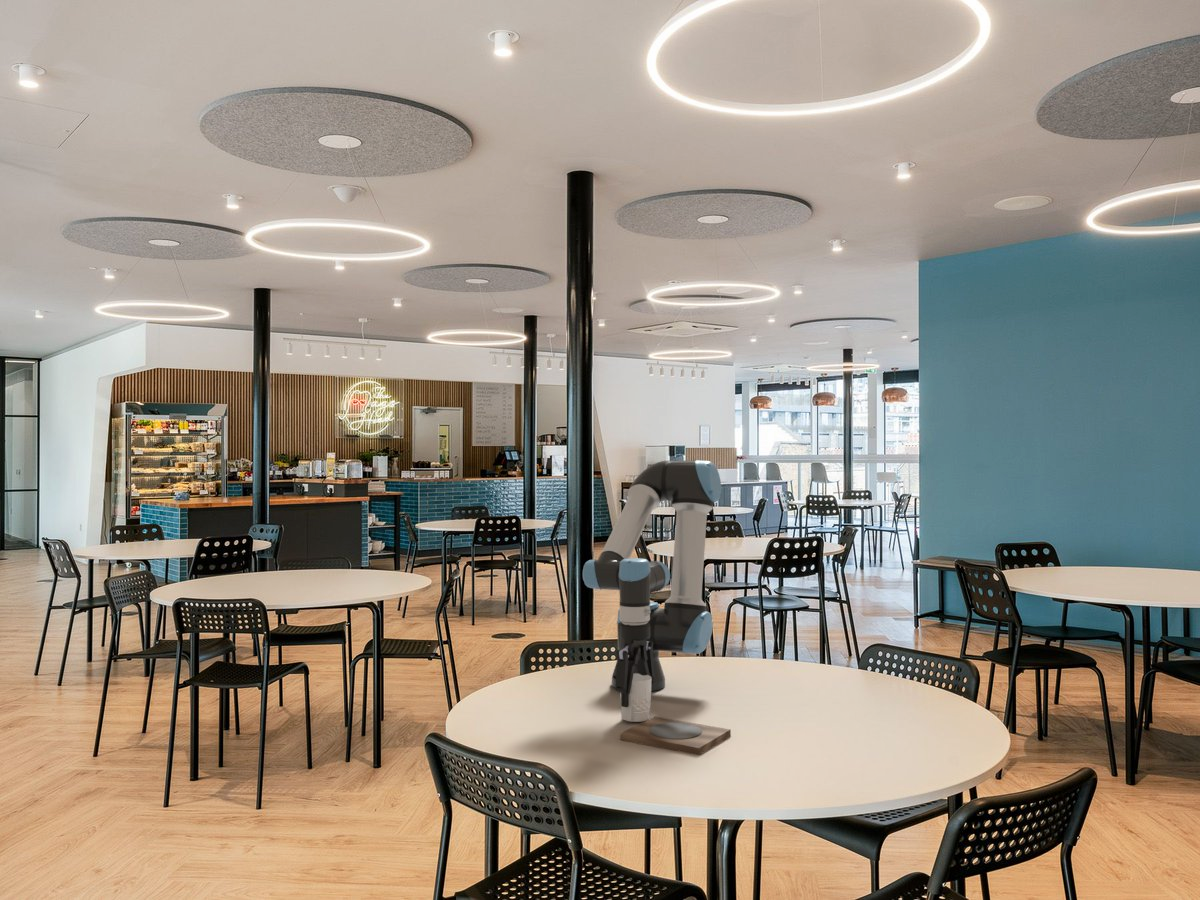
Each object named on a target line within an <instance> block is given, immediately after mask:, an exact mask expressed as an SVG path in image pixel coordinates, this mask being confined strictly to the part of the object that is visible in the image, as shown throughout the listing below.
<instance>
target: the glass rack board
mask: <svg viewBox="0 0 1200 900" xmlns="http://www.w3.org/2000/svg"><path fill="white" fill-rule="evenodd" d="M731 734H732V733H731V728H730V729H729V728H723V727H718V726H714V725H713V726H711V725H707V724H699V723H695V722H688V721H684V720H677V719H674V718H673V719H672V718H665V717H662V716H661V717H660V716H653V717H651V718H649V719H648V720H646V721H642V722H640V723H639V724H636V725H634V726H632V727H631V728H628V729H626V730H624V731H622V732H620V739H619V740H620V741H624V742H625V741H626V742H629V743H634V744H639V745H646V746H651V747H654V748H655V747H656V748H661V749H666V750H672V751H675V752H676V751H677V752H680V753H686V754H692V755H697V756H699V755H701V754H703V753H705V752H707V751H708V750H710V749H711V748H714V747H715V746H716V745H718V744H719V743H721V742H723V741H725V740H726V739H729V738H730V737H731Z"/></svg>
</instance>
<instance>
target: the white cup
mask: <svg viewBox="0 0 1200 900" xmlns="http://www.w3.org/2000/svg"><path fill="white" fill-rule="evenodd" d="M651 681H652V677H651V676H649V675H645V676H643V675H640V674H633V680H632V685H631V690H630V693H632V704H633V720H632V721H629V720H625V721H626V722H634V723H635V722H636V723H637V722H640V723H642V722H645V721H647V720H649V719H650V712H651V702H652V701H651V700H652V699H651V698H652V691H651ZM619 693H620V692H619ZM619 695H620V698H621V693H620V694H619Z"/></svg>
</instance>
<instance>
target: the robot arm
mask: <svg viewBox="0 0 1200 900" xmlns="http://www.w3.org/2000/svg"><path fill="white" fill-rule="evenodd" d="M720 477H721V476H720V473H719V470H718V468H717V466H716V465H715V464H714V463H713V462H711V461H710V460H700V459H696V460H695V459H694V460H661V461H658V462H655V463H653V464H651V465H650V466H648V467H646V469H644V470H643V471H642V472H640V474H638V476H636V478H635V479H634V480H633V482H632V483H631V485H630V487H629V489H628V491H627V498H628V499H627V501H626V503H625V505H624V507H623V509H622V511H621V513H620V514H619V517H618V519H617V520H616V522H615V525H614V527H613V529H612V531H611V533H610V534H609V536H608V539H607V541H606V542H605V545H604V547H603V549H602V550H601V553H600V555H598V558H597V559H596V558H595V559H589V560H587V561H586V562H585V563H584V565H583V569H582V580H583V582H584V585H585V586H586V587H587V588H589V589H593V590H607V591H608V590H613V591H619V609H618V610H617V621H616V624H617V627H616V628H617V650H616V663H615V666H614V669H613V672H612V675H611V686H612V688H614V690H615V692H617V693H621V697H620V706H621V707H620V709H621V711H620V712H621V714H620V715H621V720H624V721H626V720H629V721H628V722H631V721H632V720H633V704H632V693H630V690H631V685H632V680H633V674H640V675H643V676H645V675H649V676H651V677H652V681H651V692H654V691H659V690H662V689H663V688H665V686H666V676H665V674H664V671H663V667H662V663H661V661H660V656H659V653H660V652H667V653H668V652H670V653H677V654H679V653H681V654H685V655H688V654H695V655H698V654H702V652H704V651H705V650H706V649H707V647H708V645H709V643H710V640H711V637H712V635H713V634H712V633H713V626H714V624H713V623H714V622H713V616H712V613H711V612H709V611H707V604H706V603H705V602H704V601H703V598H702V592H703V579H704V564H705V563H704V561H705V550H706V549H705V547H706V535H707V534H706V533H707V532H706V531H707V518H708V514H709V513H710V512H711V511H712V510H713V508H714V507H713V505H714V503H716V502H718V501H720V498H721V496H722V483H721V478H720ZM664 501H665V502H666V501H670V502H671V507H672V508H673V510H675V511H676V517H675V529H674V530H675V531H674V543H673V544H674V546H673V560H672V572H671V573H670V570H669V568H668V566H667V565H666V564H665V563H663V562H662V561H658V560H655V561H653V560H651V561H649V560H648V559H647V558H639V557H637V558H636V557H633V558H632V557H631V556H632V554H633V551H634V550H635V547H636V546H637V543H638V541H639V540H640V537H641V536H642V533H643V531H644V528H645V526H646V525H647V522H648V520H649V519H650V516H651V514H652V511H654V510H656V509H657V508H658V507H659V505H660V503H661V502H664ZM671 574H672V575H671ZM670 580H671V586H670V596H669V598H668V599H666V600H665V601H664V605H663V606H664V608H660V605H659V603H658V602H657V601H656V602H655V601H651V594H652V593H653V594H654V593H655V592H656V593H657V592H659V591H662V590H663V589H664V588H665V587H666V586H668V584H670V583H669V582H670Z"/></svg>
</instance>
